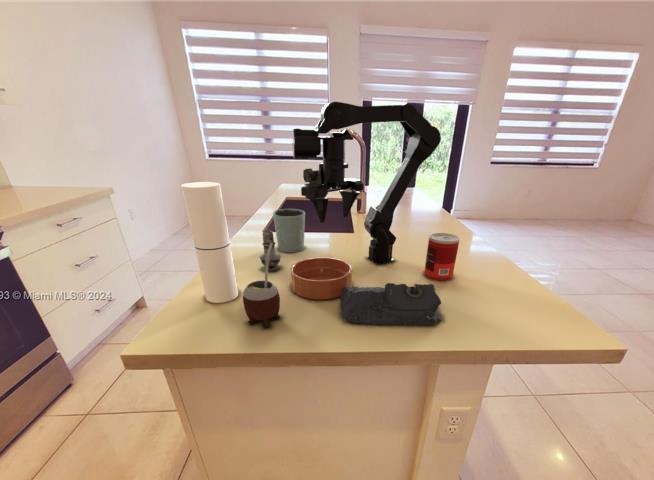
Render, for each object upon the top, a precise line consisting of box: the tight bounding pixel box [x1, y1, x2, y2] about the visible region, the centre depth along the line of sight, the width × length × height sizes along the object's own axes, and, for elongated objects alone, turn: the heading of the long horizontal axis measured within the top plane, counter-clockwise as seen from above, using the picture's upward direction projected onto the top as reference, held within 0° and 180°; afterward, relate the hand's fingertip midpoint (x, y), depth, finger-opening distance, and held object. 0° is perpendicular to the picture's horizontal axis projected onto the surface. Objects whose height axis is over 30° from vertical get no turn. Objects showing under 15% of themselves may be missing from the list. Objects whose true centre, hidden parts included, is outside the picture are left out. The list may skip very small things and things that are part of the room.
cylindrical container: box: [180, 181, 239, 304], centre depth 68 cm, size 7×7×25 cm
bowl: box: [289, 257, 353, 300], centre depth 78 cm, size 15×15×5 cm
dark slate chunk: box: [339, 282, 443, 327], centre depth 70 cm, size 15×22×5 cm
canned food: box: [424, 232, 460, 281], centre depth 85 cm, size 8×8×11 cm
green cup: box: [272, 208, 306, 253], centre depth 102 cm, size 10×10×12 cm
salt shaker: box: [259, 226, 282, 273], centre depth 86 cm, size 6×6×12 cm
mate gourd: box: [242, 243, 281, 329], centre depth 62 cm, size 8×8×15 cm
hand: (334, 219), depth 88 cm, fingers open, 9 cm apart
